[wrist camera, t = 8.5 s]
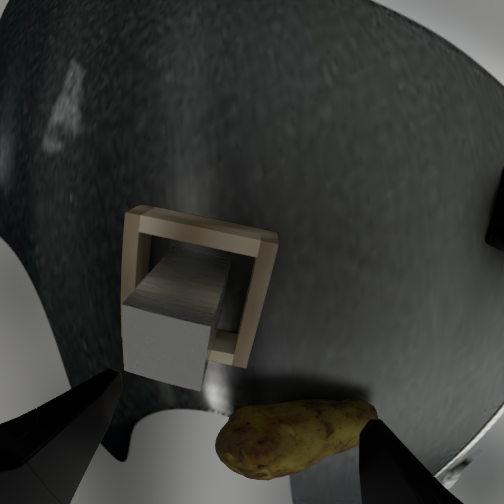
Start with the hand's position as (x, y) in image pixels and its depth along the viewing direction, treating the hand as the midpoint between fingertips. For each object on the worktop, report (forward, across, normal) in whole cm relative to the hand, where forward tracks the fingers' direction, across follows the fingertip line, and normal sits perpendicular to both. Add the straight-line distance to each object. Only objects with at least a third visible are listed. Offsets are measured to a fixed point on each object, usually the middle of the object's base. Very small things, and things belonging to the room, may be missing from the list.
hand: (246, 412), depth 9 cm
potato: (+12, -6, +11) cm, 17 cm away
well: (+11, +4, +1) cm, 12 cm away
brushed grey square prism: (+11, +4, +1) cm, 12 cm away
